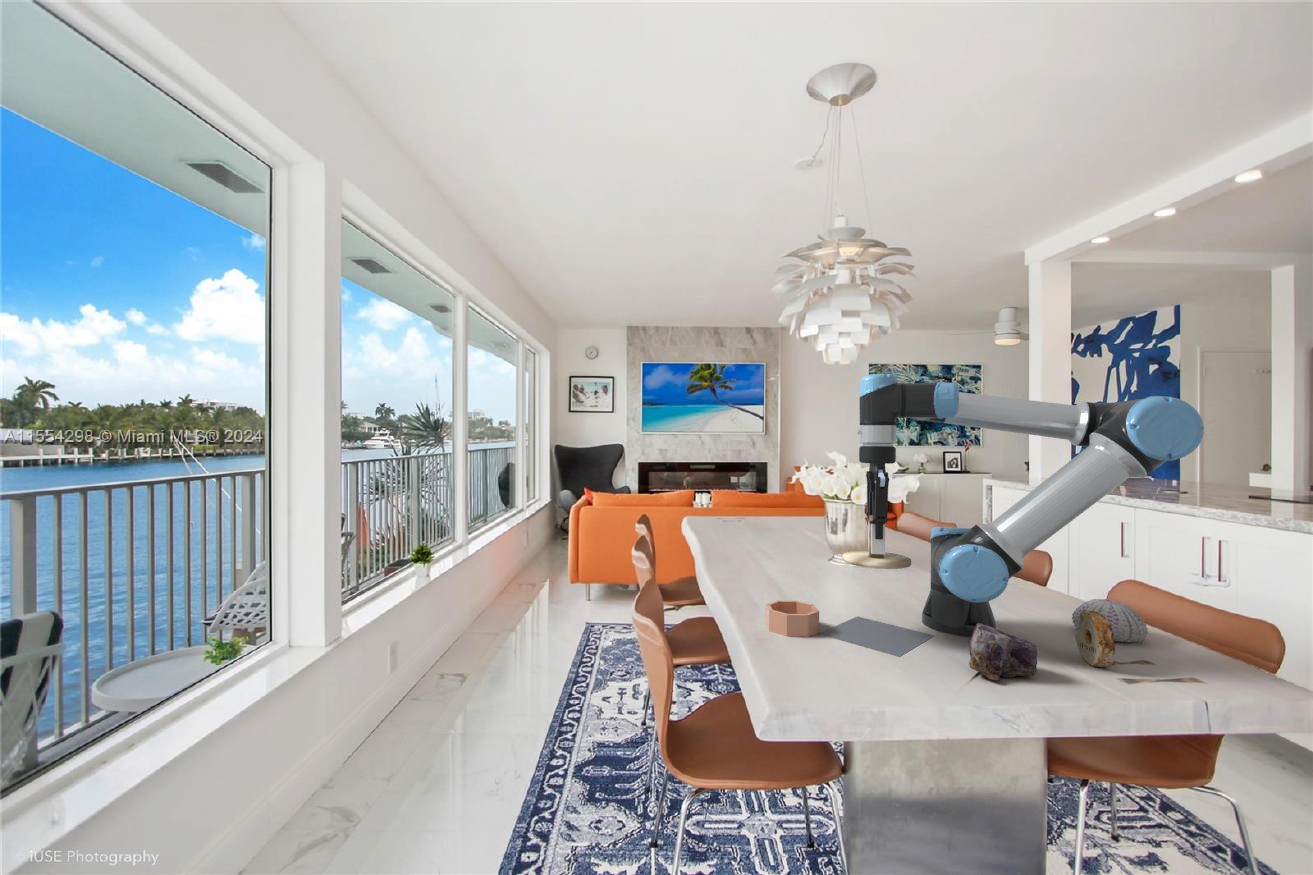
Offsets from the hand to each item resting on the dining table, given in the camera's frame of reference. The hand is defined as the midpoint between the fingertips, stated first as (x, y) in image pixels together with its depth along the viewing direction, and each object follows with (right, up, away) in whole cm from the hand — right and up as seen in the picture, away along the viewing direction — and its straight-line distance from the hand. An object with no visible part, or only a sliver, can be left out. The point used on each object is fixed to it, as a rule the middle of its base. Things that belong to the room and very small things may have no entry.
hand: (876, 551), depth 125 cm
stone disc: (+37, -19, -14) cm, 44 cm away
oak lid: (0, -2, 0) cm, 2 cm away
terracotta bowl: (-18, -18, +4) cm, 26 cm away
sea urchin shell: (+52, -19, +1) cm, 56 cm away
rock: (+15, -19, -19) cm, 31 cm away
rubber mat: (0, -19, 0) cm, 19 cm away
